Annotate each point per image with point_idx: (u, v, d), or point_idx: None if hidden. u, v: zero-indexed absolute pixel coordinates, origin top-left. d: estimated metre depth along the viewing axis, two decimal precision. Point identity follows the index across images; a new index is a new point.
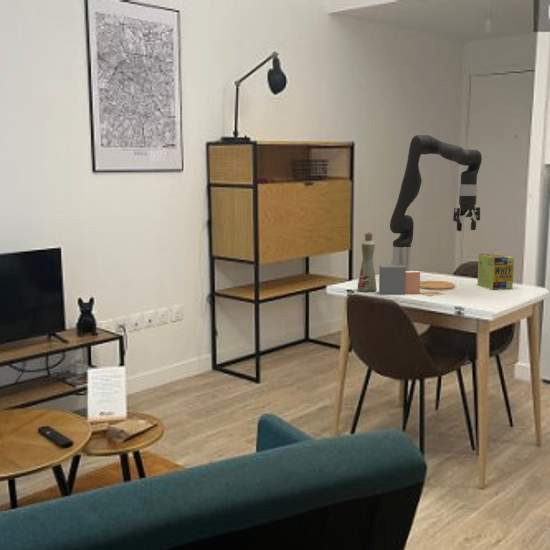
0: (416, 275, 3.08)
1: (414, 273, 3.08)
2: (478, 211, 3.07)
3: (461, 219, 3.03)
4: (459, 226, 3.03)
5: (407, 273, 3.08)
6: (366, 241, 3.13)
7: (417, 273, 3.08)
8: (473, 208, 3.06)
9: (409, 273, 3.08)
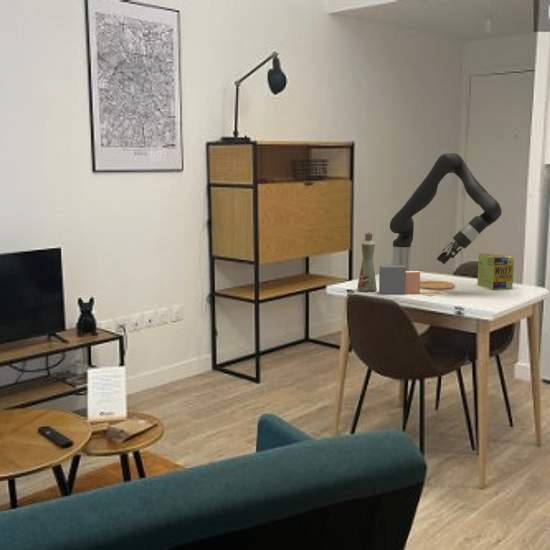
0: (416, 275, 3.08)
1: (414, 273, 3.08)
2: None
3: None
4: (446, 260, 3.03)
5: (407, 273, 3.08)
6: (366, 241, 3.13)
7: (417, 273, 3.08)
8: None
9: (409, 273, 3.08)
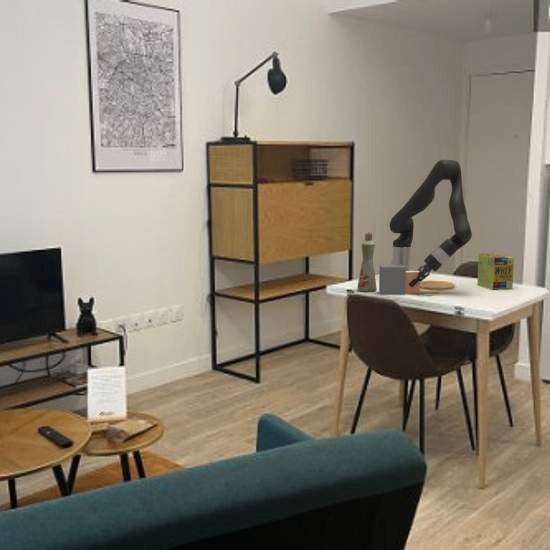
0: (416, 275, 3.08)
1: (414, 273, 3.08)
2: None
3: None
4: (414, 284, 3.08)
5: (407, 273, 3.08)
6: (366, 241, 3.13)
7: (417, 273, 3.08)
8: None
9: (409, 273, 3.08)
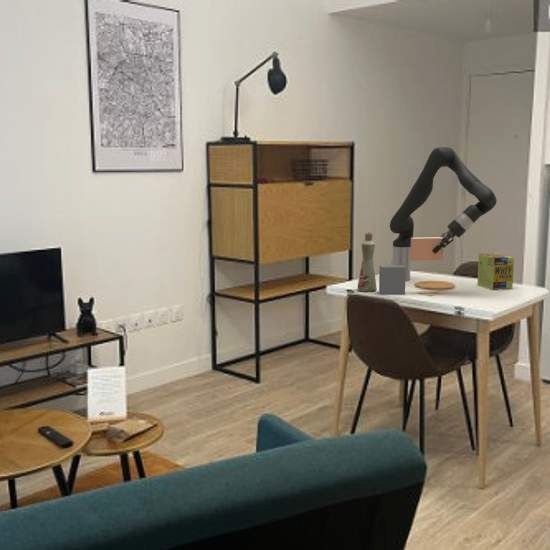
0: (439, 241, 3.05)
1: (437, 239, 3.05)
2: None
3: None
4: (438, 250, 3.05)
5: (430, 239, 3.05)
6: (366, 241, 3.13)
7: (440, 239, 3.05)
8: None
9: (432, 239, 3.05)
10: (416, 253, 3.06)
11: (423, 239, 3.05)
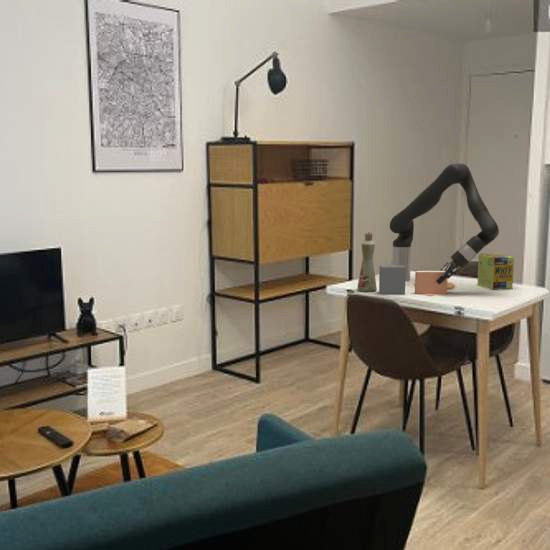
0: None
1: (442, 273, 3.07)
2: None
3: None
4: (442, 280, 3.06)
5: (435, 273, 3.07)
6: (366, 241, 3.13)
7: None
8: None
9: (437, 273, 3.07)
10: (420, 286, 3.09)
11: (427, 273, 3.08)
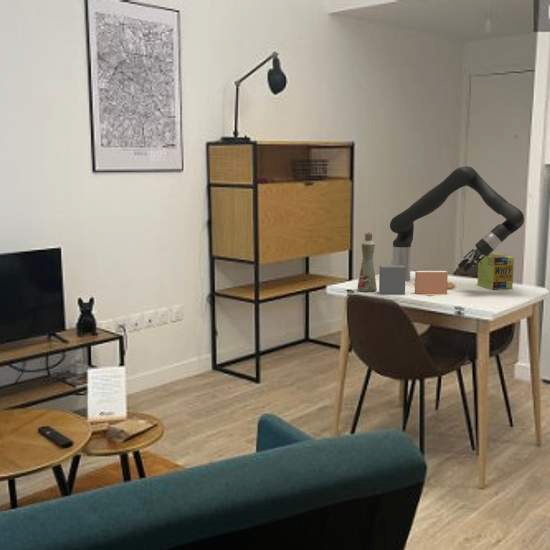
0: (444, 275, 3.08)
1: (442, 273, 3.07)
2: None
3: None
4: (468, 268, 3.04)
5: (435, 273, 3.07)
6: (366, 241, 3.13)
7: (445, 273, 3.07)
8: None
9: (437, 273, 3.07)
10: (420, 286, 3.09)
11: (427, 273, 3.08)
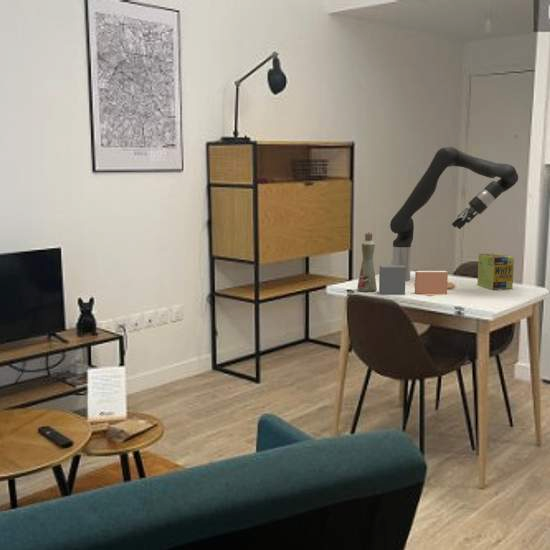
0: (444, 275, 3.08)
1: (442, 273, 3.07)
2: None
3: None
4: (462, 225, 3.03)
5: (435, 273, 3.07)
6: (366, 241, 3.13)
7: (445, 273, 3.07)
8: None
9: (437, 273, 3.07)
10: (420, 286, 3.09)
11: (427, 273, 3.08)
